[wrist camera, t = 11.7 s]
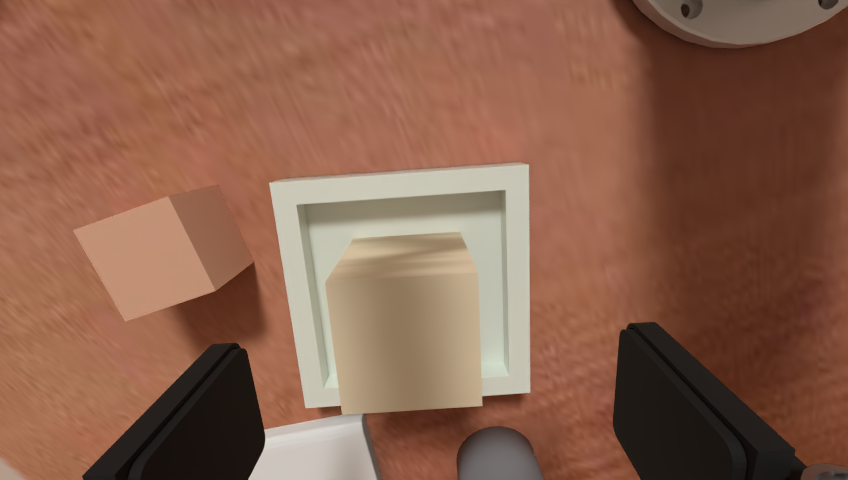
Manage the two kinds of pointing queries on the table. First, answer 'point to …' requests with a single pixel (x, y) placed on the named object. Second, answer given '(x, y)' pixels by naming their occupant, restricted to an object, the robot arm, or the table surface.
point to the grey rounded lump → (497, 456)
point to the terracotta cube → (166, 251)
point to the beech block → (406, 324)
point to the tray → (407, 215)
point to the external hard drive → (319, 451)
